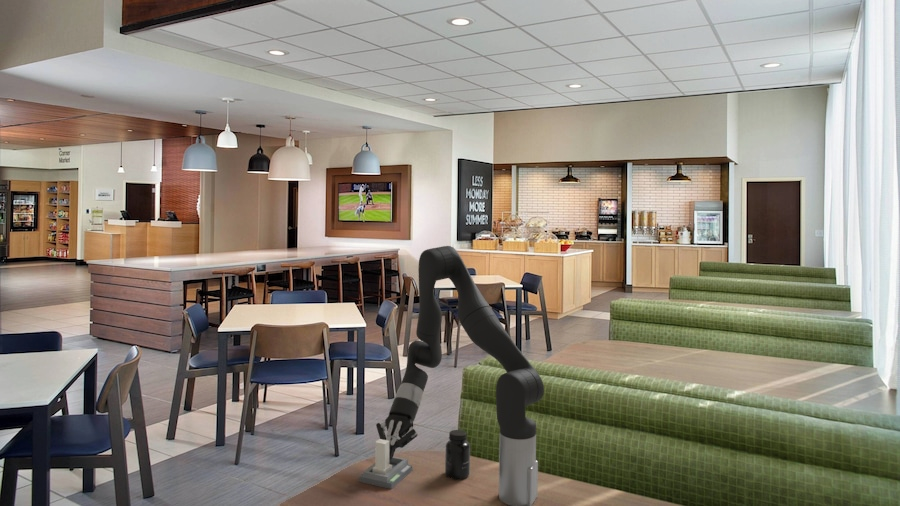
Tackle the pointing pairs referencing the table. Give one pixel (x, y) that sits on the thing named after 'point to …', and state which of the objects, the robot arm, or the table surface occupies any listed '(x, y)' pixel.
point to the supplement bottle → (457, 455)
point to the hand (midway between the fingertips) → (385, 459)
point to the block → (382, 457)
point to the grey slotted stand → (391, 478)
